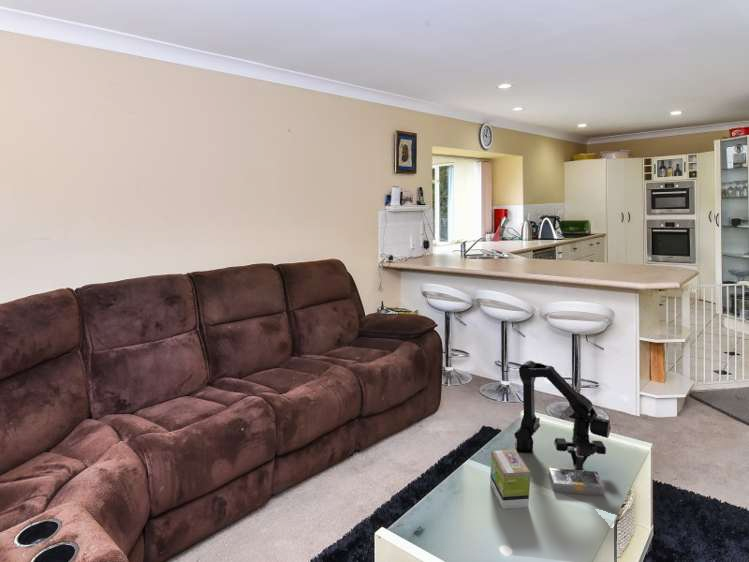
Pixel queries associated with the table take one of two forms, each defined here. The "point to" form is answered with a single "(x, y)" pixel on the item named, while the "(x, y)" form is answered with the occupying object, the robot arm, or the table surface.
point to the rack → (576, 481)
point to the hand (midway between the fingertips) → (577, 464)
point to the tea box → (510, 479)
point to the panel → (578, 461)
